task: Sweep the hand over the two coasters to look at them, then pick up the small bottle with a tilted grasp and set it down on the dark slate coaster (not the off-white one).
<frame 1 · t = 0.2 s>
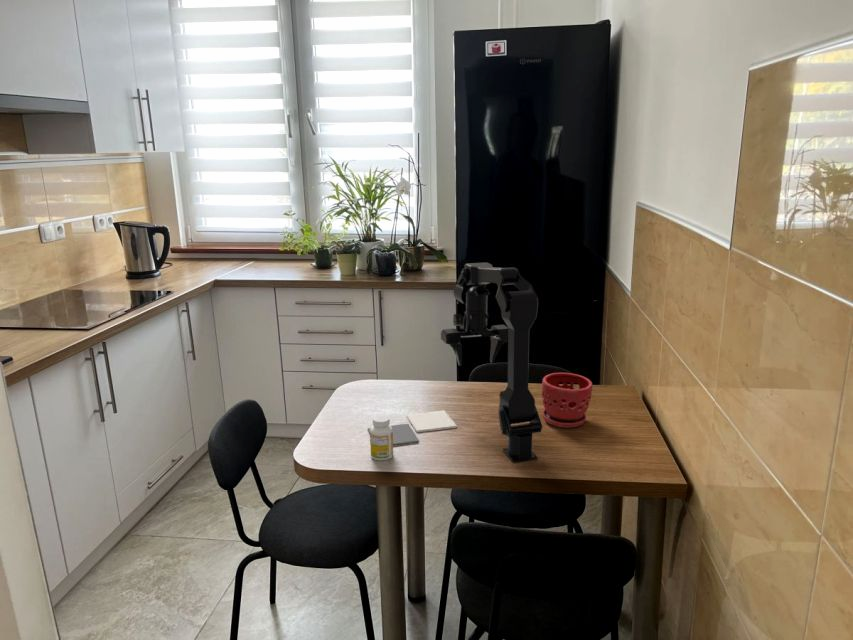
hand: (475, 364, 176), 14 cm above the table, tool pointing down, fingers open, 9 cm apart
offwhite coaster: (431, 422, 174), on the table
slate coaster: (392, 436, 165), on the table
supplement bottle: (382, 456, 154), on the table
plant pot: (565, 422, 174), on the table
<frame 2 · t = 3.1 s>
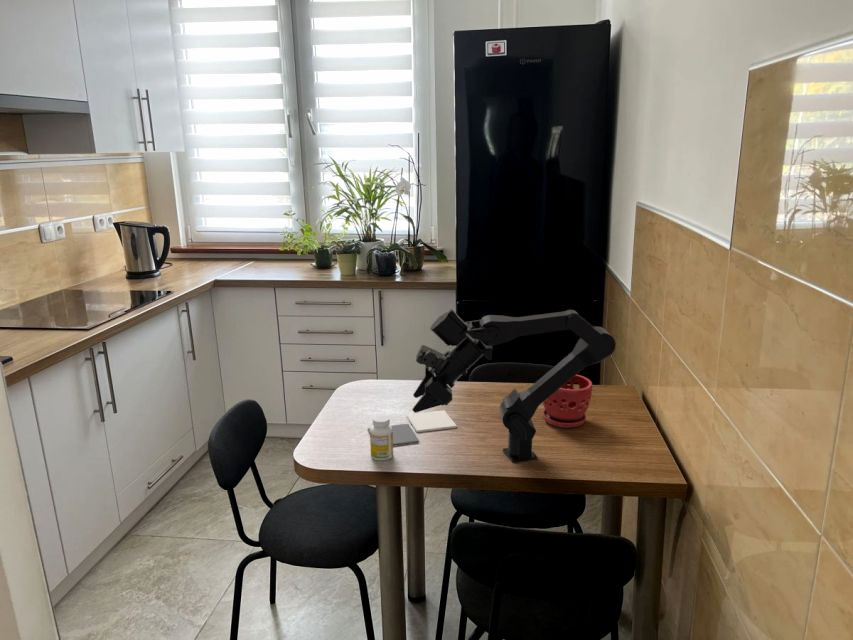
hand: (414, 403, 151), 13 cm above the table, tool tilted 45°, fingers open, 9 cm apart
nothing on the table moved.
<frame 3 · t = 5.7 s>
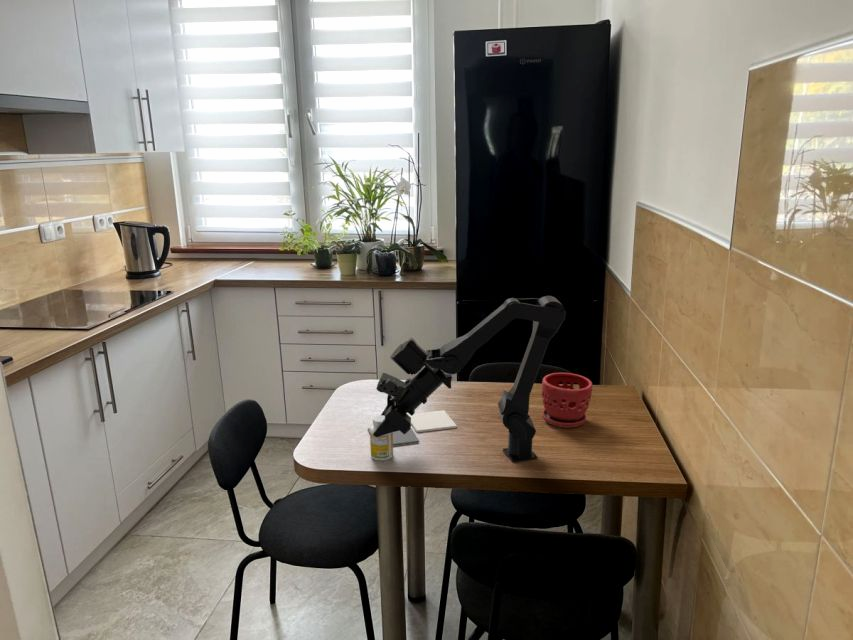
hand: (375, 430, 153), 7 cm above the table, tool tilted 45°, fingers closed on supplement bottle, 5 cm apart
supplement bottle: (381, 456, 154), on the table, touching gripper
everything else where it was.
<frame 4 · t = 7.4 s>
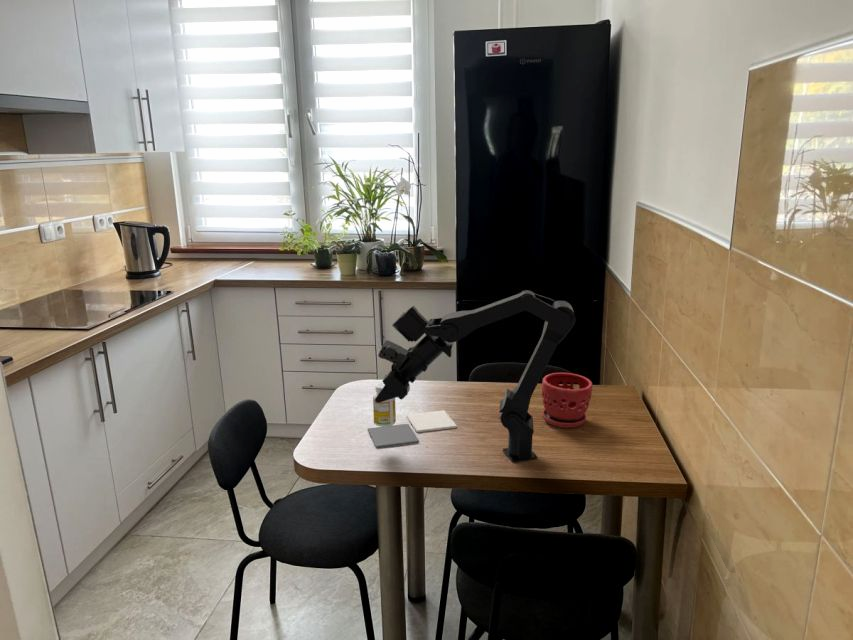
hand: (378, 397, 156), 13 cm above the table, tool tilted 45°, fingers closed on supplement bottle, 5 cm apart
supplement bottle: (384, 423, 157), point 6 cm above the table, touching gripper
everything else where it was.
when the fingers open (8 cm above the table, at t = 9.3 s): supplement bottle stays where it is, resting on slate coaster.
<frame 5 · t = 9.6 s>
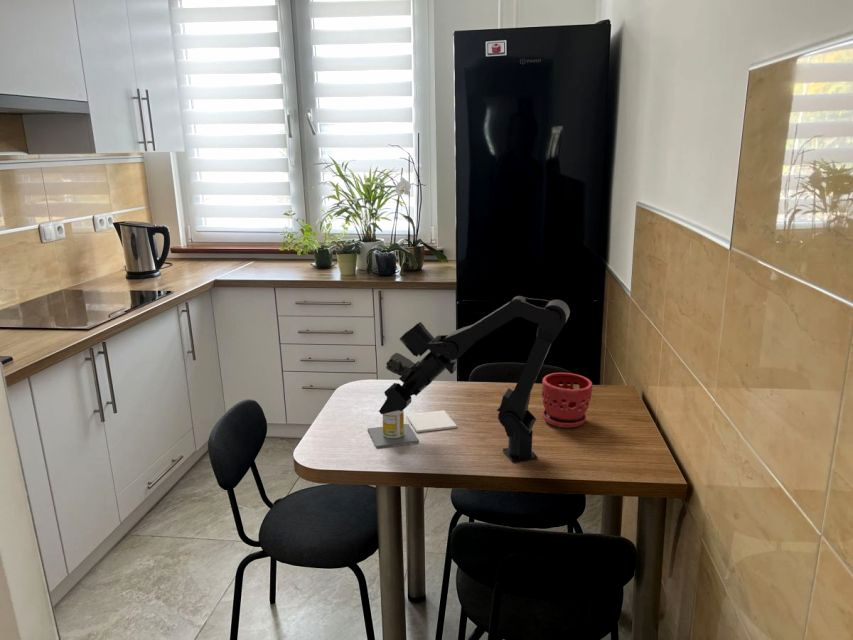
hand: (387, 406, 163), 8 cm above the table, tool tilted 45°, fingers open, 9 cm apart
supplement bottle: (393, 435, 165), resting on slate coaster
everything else where it was.
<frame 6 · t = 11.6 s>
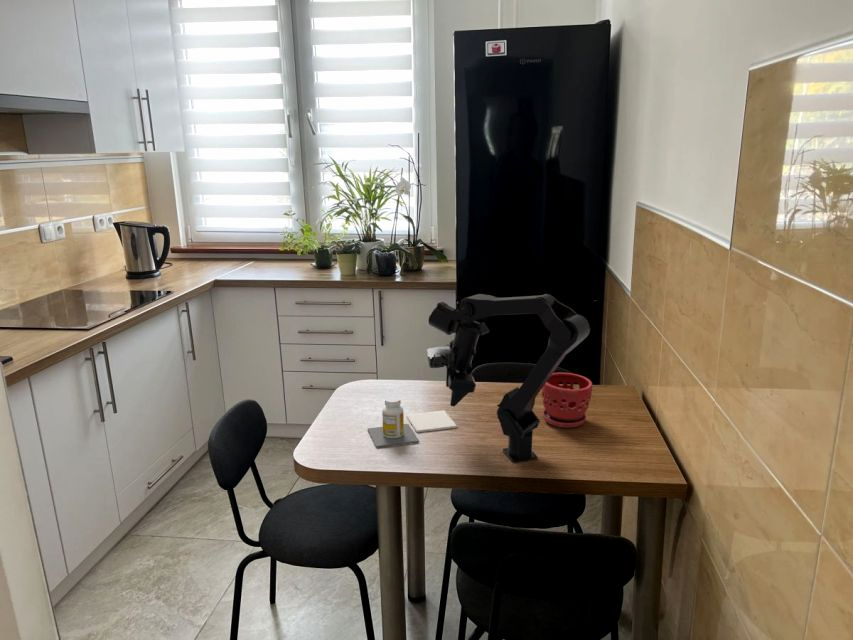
hand: (450, 396, 164), 10 cm above the table, tool tilted 15°, fingers open, 9 cm apart
nothing on the table moved.
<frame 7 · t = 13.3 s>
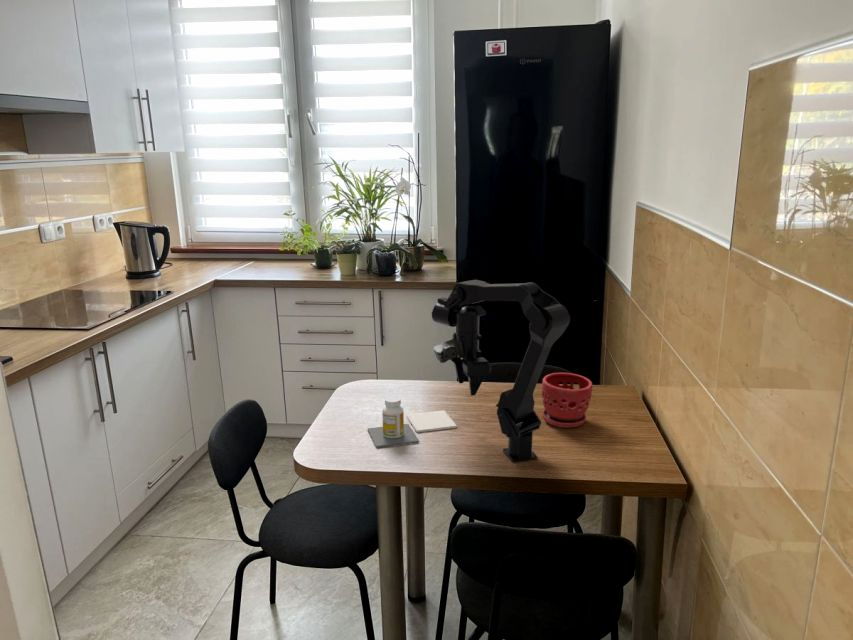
hand: (466, 389, 164), 12 cm above the table, tool pointing down, fingers open, 9 cm apart
nothing on the table moved.
at the end: supplement bottle inside the target area on the slate coaster (0.2 cm from its centre), point 0.4 cm above the slate coaster's base; supplement bottle tilted 0°; the gripper is holding nothing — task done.
